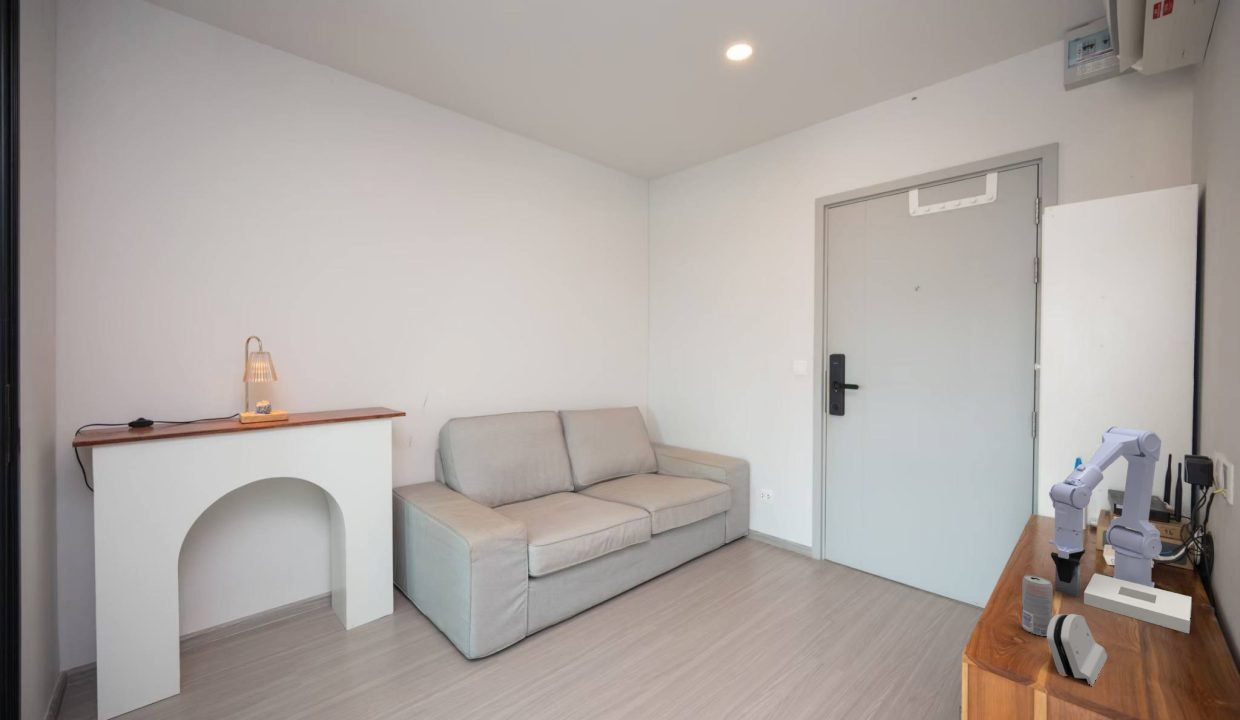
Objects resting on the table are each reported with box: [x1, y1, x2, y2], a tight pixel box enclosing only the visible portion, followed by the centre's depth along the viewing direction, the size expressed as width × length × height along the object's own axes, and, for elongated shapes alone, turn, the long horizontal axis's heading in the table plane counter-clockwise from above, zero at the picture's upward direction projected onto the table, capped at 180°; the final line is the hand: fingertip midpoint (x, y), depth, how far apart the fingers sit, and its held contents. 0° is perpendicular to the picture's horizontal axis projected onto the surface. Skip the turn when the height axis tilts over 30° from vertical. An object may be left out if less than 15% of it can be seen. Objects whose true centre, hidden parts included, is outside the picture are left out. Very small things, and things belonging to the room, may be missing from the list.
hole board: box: [1083, 572, 1192, 634], centre depth 128 cm, size 18×18×3 cm
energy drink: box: [1021, 574, 1053, 637], centre depth 116 cm, size 5×5×12 cm
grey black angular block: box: [1046, 613, 1108, 686], centre depth 104 cm, size 17×5×10 cm, turn 128°
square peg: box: [1054, 561, 1081, 598], centre depth 136 cm, size 4×4×8 cm
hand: (1067, 577), depth 136 cm, fingers open, 7 cm apart
